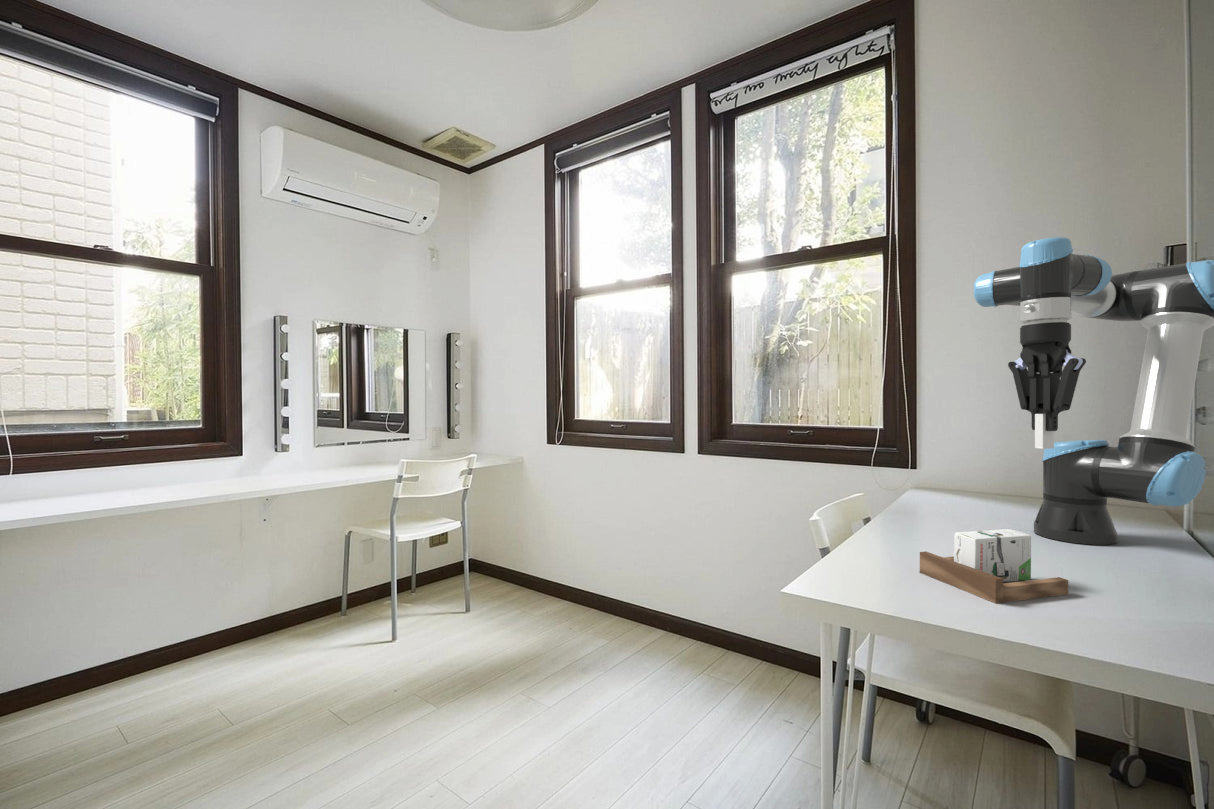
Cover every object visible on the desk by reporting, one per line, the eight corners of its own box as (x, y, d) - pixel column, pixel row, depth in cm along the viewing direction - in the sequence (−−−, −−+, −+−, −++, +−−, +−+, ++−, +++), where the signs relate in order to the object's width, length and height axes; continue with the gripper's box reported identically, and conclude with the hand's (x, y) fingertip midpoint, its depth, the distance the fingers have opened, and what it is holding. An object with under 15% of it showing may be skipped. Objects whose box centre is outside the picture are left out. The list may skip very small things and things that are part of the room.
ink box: (1032, 581, 100) (975, 586, 98) (1007, 572, 105) (953, 577, 103) (1032, 534, 99) (974, 538, 98) (1007, 527, 104) (952, 531, 102)
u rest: (984, 565, 110) (984, 546, 110) (1068, 594, 94) (1068, 571, 94) (919, 572, 106) (919, 552, 106) (995, 603, 91) (995, 579, 91)
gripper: (996, 327, 108) (996, 445, 109) (1065, 318, 96) (1065, 452, 96) (1026, 327, 110) (1026, 444, 111) (1098, 319, 97) (1097, 450, 98)
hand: (1044, 448), depth 104 cm, fingers closed
